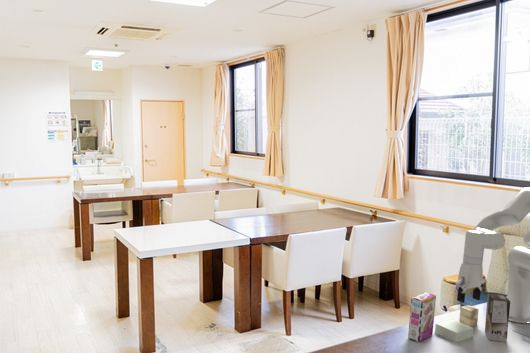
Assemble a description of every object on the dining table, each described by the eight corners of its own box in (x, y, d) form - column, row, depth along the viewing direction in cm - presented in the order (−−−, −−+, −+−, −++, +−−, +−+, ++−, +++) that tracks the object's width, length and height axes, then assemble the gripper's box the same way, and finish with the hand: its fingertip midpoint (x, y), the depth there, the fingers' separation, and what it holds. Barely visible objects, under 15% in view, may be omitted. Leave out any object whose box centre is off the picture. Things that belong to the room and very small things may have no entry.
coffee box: (507, 342, 191) (511, 301, 189) (489, 340, 192) (493, 299, 191) (501, 333, 200) (504, 294, 198) (484, 331, 201) (487, 292, 200)
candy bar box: (419, 343, 187) (422, 301, 186) (407, 338, 191) (410, 297, 189) (433, 335, 195) (436, 294, 194) (421, 331, 199) (424, 291, 197)
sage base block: (451, 328, 203) (452, 319, 203) (472, 338, 195) (473, 328, 194) (434, 333, 198) (435, 323, 198) (456, 342, 190) (456, 332, 189)
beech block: (467, 321, 212) (468, 305, 211) (477, 325, 207) (478, 309, 207) (459, 322, 209) (460, 306, 208) (469, 327, 205) (470, 310, 204)
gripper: (478, 256, 213) (474, 295, 215) (451, 259, 204) (446, 299, 206) (494, 261, 207) (489, 301, 208) (466, 264, 198) (462, 305, 199)
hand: (468, 300), depth 207 cm, fingers open, 9 cm apart
